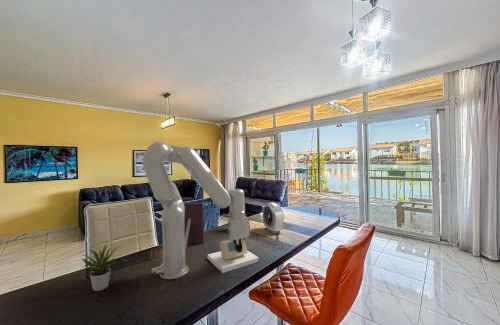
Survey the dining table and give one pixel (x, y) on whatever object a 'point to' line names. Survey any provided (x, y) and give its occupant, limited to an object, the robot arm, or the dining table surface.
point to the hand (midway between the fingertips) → (239, 251)
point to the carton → (231, 249)
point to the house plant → (100, 269)
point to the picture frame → (194, 223)
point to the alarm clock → (273, 218)
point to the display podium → (232, 261)
